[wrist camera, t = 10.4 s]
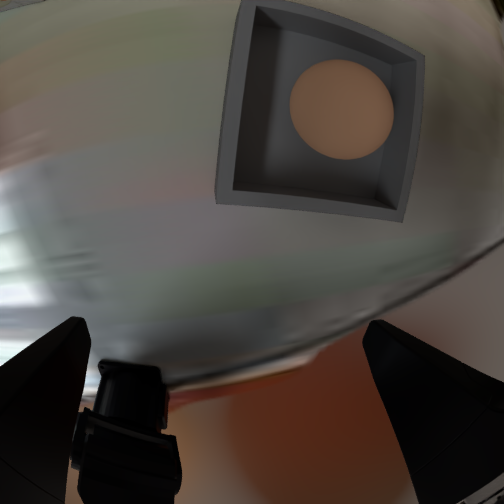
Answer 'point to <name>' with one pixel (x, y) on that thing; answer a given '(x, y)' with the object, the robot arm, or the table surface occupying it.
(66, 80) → the table surface
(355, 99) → the ball
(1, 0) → the coffee box
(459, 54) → the table surface
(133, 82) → the table surface
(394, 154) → the grey open square tray
